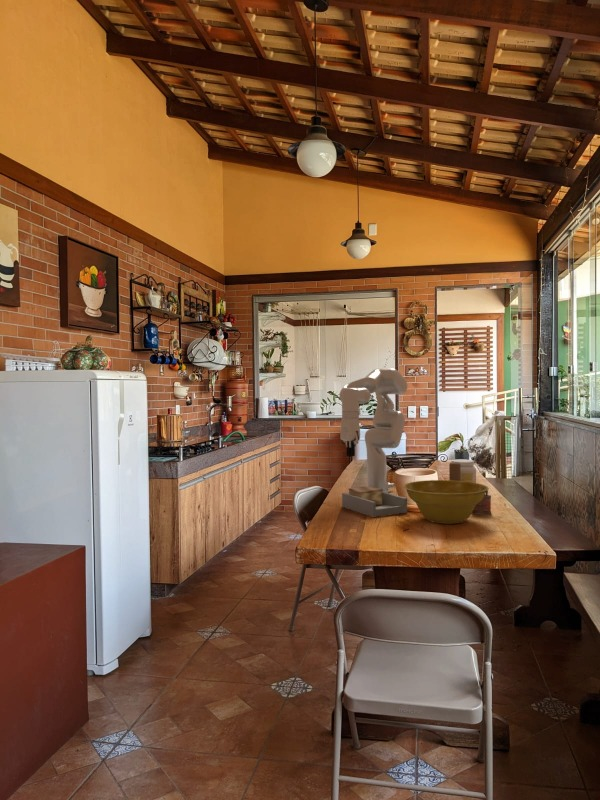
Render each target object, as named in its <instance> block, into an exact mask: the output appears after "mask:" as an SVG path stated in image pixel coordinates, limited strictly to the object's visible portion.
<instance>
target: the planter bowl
mask: <svg viewBox="0 0 600 800" xmlns="http://www.w3.org/2000/svg"><path fill="white" fill-rule="evenodd" d="M403 489H405V490H406V494H407V495H408V497H409V499H410V500H412V501H413V502H414V503H415V504H416V506H417V509H418V510H419V512H420V514H421V515H422V517H423V518H424V519H426V520H427V521H429V522H431V523H436V524H445V525H446V524H449V525H451V524H460V523H463V522H465V521H466V520H468V519H469V518H470V517H471V515H472V514H473V513H472V511H473V510H474V508H475V505H476V504H477V503H478V502H480V501H481V500H482V499H483V497H484V495H486V493H485V492H486V491H487V490H488V491H489V486H487V485H485V484H482V483H479V482H478V483H477V482H476V483H473V482H465V481H453V480H449V479H447V480H446V479H445V480H444V479H439V480H438V479H431V480H429V479H428V480H427V479H426V480H419V481H418V480H417V481H411V482H407V483H405V484H404V485H403Z"/></svg>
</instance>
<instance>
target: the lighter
mask: <svg viewBox="0 0 600 800" xmlns="http://www.w3.org/2000/svg"><path fill="white" fill-rule="evenodd" d="M491 498H492V495H491V494H489V489H488V490H487V491H486V492H485V495H484V497H483V499H482V500H481V501H480V502H478V503H477V504H476V505H475V508H474V510H473V511H472V513H471V514H479V515H492V510H491V509H492V506H491V505H492V502H491V501H492V499H491Z"/></svg>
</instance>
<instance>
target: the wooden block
mask: <svg viewBox="0 0 600 800" xmlns="http://www.w3.org/2000/svg"><path fill="white" fill-rule="evenodd" d="M448 465H449V475H448V476H449V477H448V478H449V479H448V480H453V481H461V464H460V463H451V462H450V463H449V464H448Z"/></svg>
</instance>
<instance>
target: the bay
mask: <svg viewBox="0 0 600 800" xmlns="http://www.w3.org/2000/svg"><path fill="white" fill-rule="evenodd" d="M341 501H342V502H341V504H342V505H341V507H342V508H344V507H345V509H347V510H350V509H351V511H353V512H356V511H357V512H356V513H359V512H360V513H359V514H362V513H363V515H365V514H366V515H365V516H368V515H369V516H368V517H371V516H373V517H372V518H376V517H375V516H380V517H384V516H383V515H387V516H390V515H389V514H394V515H399V513H401V514H407V513H408V498H407V497H405V496H404V497H403V496H400V495H396V494H393V493H390V492H389V493H385V492H382V504H380V505H376V502H373V501H370V500H367V499H363V498H360V497H356V496H353V495H350V494H349V493H345V492H343V493H341Z"/></svg>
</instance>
